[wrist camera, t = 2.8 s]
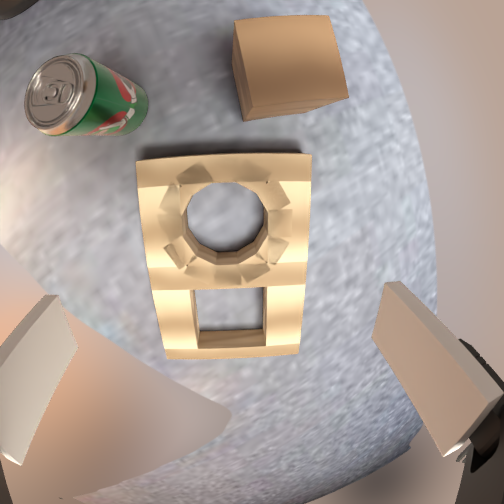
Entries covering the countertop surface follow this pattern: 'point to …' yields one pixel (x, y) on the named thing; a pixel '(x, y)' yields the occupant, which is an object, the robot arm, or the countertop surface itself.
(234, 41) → the walnut square peg
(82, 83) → the soda can
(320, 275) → the countertop surface
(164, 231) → the socket board
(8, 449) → the robot arm
